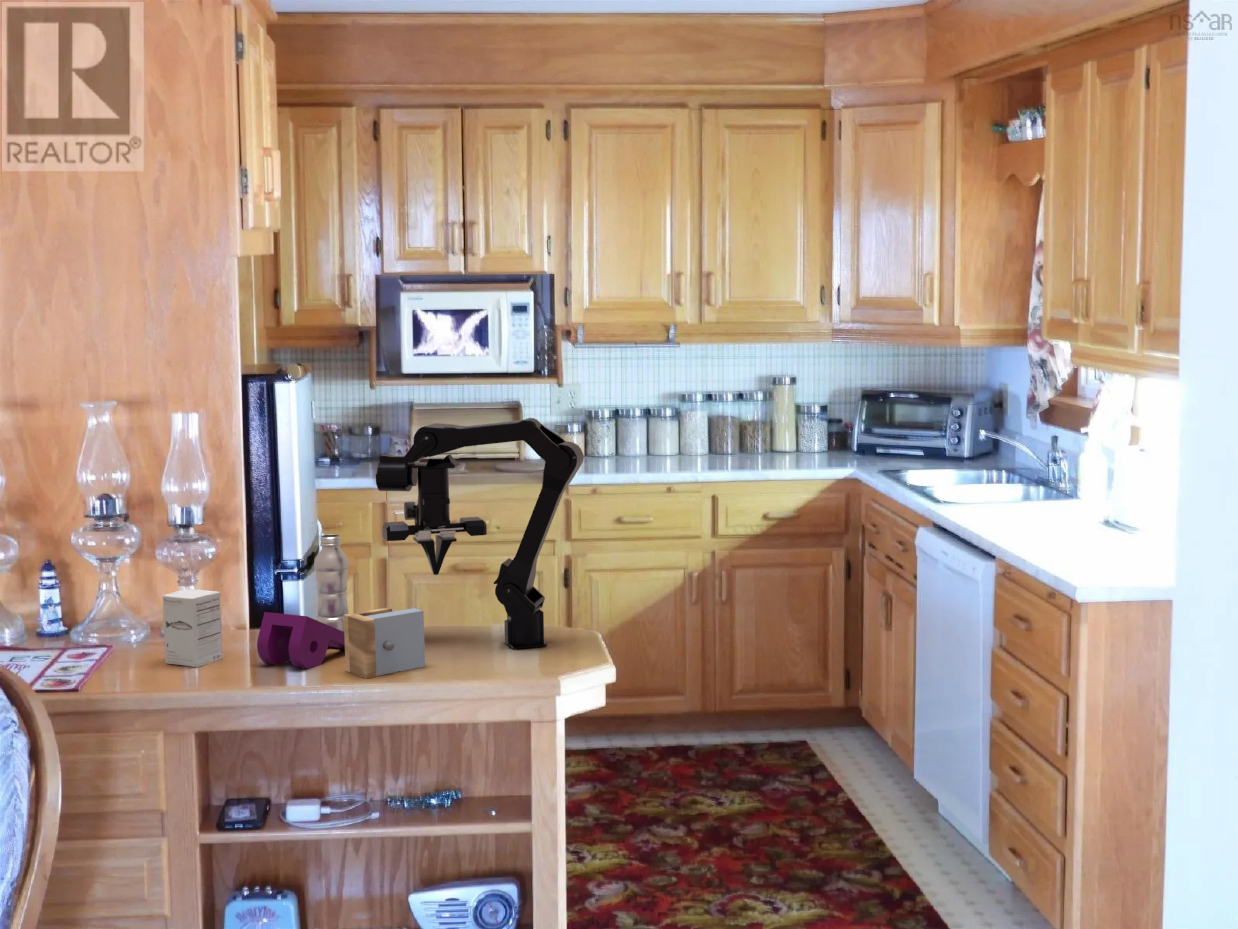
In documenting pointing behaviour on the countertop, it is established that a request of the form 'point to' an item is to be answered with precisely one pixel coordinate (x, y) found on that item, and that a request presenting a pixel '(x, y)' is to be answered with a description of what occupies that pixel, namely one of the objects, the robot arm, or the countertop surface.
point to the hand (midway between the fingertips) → (435, 574)
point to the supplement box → (192, 627)
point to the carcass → (361, 642)
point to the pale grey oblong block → (399, 640)
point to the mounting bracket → (296, 640)
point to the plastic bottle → (331, 582)
